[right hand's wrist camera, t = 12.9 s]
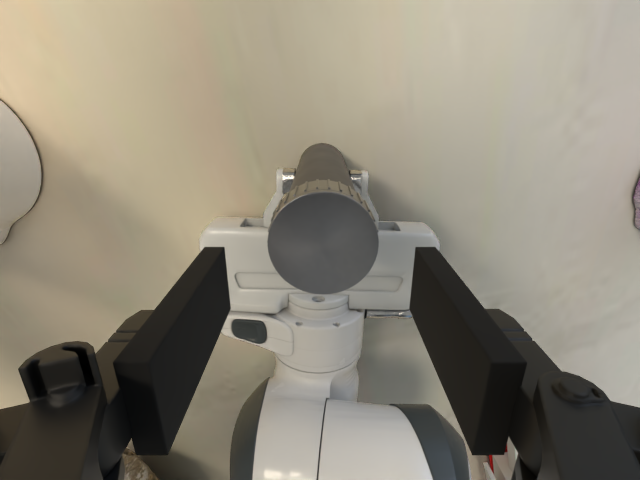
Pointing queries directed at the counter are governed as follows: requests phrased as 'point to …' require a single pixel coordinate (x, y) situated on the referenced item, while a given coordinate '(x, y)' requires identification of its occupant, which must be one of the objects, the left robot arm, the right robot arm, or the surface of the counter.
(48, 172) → the counter surface
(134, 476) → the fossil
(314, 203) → the lid
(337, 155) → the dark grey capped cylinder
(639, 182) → the figurine
